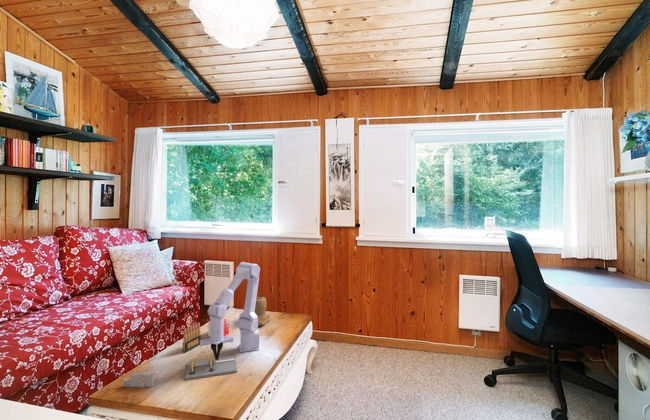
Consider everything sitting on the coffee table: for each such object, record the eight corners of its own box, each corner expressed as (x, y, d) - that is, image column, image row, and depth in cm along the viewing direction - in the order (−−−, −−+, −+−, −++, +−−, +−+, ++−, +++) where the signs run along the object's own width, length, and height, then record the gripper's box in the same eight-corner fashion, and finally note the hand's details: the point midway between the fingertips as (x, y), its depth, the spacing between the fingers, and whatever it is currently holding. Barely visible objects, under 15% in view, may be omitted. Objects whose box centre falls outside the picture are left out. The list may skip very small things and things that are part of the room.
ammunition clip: (185, 353, 158) (185, 329, 157) (182, 352, 158) (182, 328, 158) (201, 344, 168) (201, 321, 167) (198, 343, 168) (198, 321, 168)
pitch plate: (235, 357, 154) (235, 347, 154) (236, 372, 141) (237, 362, 141) (188, 363, 148) (188, 353, 148) (185, 380, 134) (185, 369, 134)
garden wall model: (122, 387, 129) (122, 373, 129) (125, 384, 131) (125, 370, 130) (152, 387, 129) (152, 373, 129) (155, 384, 131) (155, 370, 131)
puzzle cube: (208, 335, 178) (208, 321, 178) (219, 330, 185) (219, 317, 185) (217, 339, 174) (217, 324, 174) (229, 334, 181) (229, 320, 180)
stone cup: (255, 316, 207) (255, 294, 207) (272, 318, 205) (272, 295, 204) (244, 325, 192) (244, 301, 192) (263, 327, 190) (263, 303, 189)
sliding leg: (214, 360, 148) (214, 352, 148) (213, 369, 141) (213, 361, 140) (208, 360, 148) (208, 353, 148) (208, 370, 140) (208, 362, 140)
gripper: (199, 335, 140) (199, 365, 141) (233, 331, 145) (233, 360, 145) (200, 328, 147) (200, 357, 147) (233, 325, 152) (232, 353, 152)
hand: (216, 358), depth 147 cm, fingers closed
